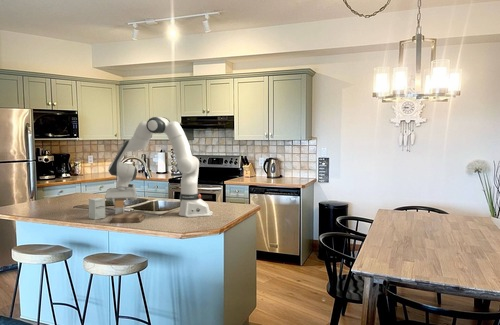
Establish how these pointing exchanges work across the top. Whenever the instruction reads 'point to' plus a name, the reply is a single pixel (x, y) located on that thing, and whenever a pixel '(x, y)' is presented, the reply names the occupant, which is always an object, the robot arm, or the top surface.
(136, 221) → the walnut stand
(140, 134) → the robot arm
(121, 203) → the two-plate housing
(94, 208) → the supplement box
